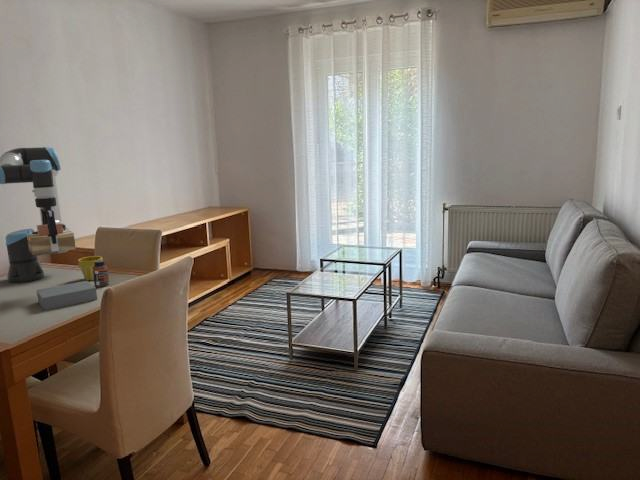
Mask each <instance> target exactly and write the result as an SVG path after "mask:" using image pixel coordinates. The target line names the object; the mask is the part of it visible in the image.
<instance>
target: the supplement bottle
mask: <svg viewBox="0 0 640 480" xmlns="http://www.w3.org/2000/svg"><path fill="white" fill-rule="evenodd" d="M94 263H95V266H94V267H93V276H94V280H93V282H94V283H93V284H94V287H96V288H102V287H103V288H105V287H106V286H109V285H110V279H109V271H108V266H107V265H106V264H105V260H98V261H95V262H94ZM104 286H105V287H104Z"/></svg>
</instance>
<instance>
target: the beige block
mask: <svg viewBox="0 0 640 480" xmlns="http://www.w3.org/2000/svg"><path fill="white" fill-rule="evenodd" d="M27 240H28V246H29V251H30V252H31V253H32V254H33V255H37V254H44V253H51V245H50V238H49V237H48V235H44V236H39V235H38V234H31V235H27ZM57 240H58V247H59V251H65V250H68V251H70V250H76V239H75V233H74V231H72V230H70V229H69V230H64V231H63V233H60V234H58V235H57ZM54 252H58V251H54Z"/></svg>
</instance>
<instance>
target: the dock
mask: <svg viewBox="0 0 640 480" xmlns="http://www.w3.org/2000/svg"><path fill="white" fill-rule="evenodd" d="M36 297H37V302H38V304H39V305H40V306H41V308H42V309H43V311H49V310H53V309H59V308H63V307H68V306H73V305H77V304H82V303H87V302H91V301H97V300H98V293H97V287H96V286H95V285H93V284H92V283H91V282H89V280H84V281H79V282H72V283H68V284H62V285H56V286H51V287H45V288H40V289H36Z"/></svg>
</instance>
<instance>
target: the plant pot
mask: <svg viewBox="0 0 640 480" xmlns="http://www.w3.org/2000/svg"><path fill="white" fill-rule="evenodd" d="M98 260H103V257H102V256H100V255H93V256H85V257H81V258H79V259H78V260H77V265H78V267H79V268H80V269H81V272H82V275H83V277H84V281H94V276H93V267H94V266H95V263H94V262H95V261H98Z"/></svg>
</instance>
